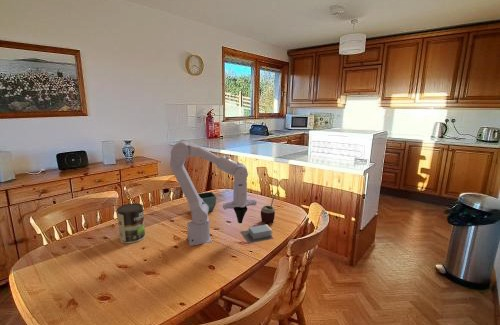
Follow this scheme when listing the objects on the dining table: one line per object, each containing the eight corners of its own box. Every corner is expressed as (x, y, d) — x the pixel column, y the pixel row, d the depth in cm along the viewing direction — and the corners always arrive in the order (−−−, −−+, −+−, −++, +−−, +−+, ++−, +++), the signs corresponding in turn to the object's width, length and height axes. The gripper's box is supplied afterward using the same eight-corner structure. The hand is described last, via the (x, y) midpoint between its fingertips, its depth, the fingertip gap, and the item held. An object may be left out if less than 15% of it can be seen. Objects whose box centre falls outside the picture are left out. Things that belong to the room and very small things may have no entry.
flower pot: (197, 208, 146) (196, 193, 144) (212, 206, 150) (211, 191, 148) (201, 214, 139) (200, 198, 137) (216, 211, 142) (216, 196, 140)
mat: (248, 244, 110) (248, 243, 110) (239, 232, 120) (239, 231, 120) (273, 239, 114) (273, 238, 114) (263, 228, 124) (263, 227, 124)
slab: (253, 233, 113) (272, 230, 116) (248, 227, 118) (266, 224, 121) (253, 239, 113) (272, 235, 117) (248, 232, 119) (266, 229, 122)
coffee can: (150, 233, 118) (148, 204, 115) (136, 244, 108) (133, 213, 105) (130, 230, 120) (127, 202, 117) (114, 241, 110) (111, 211, 107)
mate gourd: (259, 224, 128) (260, 196, 125) (262, 218, 136) (263, 190, 132) (274, 226, 126) (275, 197, 123) (276, 219, 134) (277, 192, 131)
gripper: (226, 197, 103) (226, 228, 106) (259, 193, 108) (258, 223, 111) (221, 192, 110) (221, 221, 113) (253, 188, 115) (252, 217, 118)
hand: (239, 222), depth 112 cm, fingers closed
